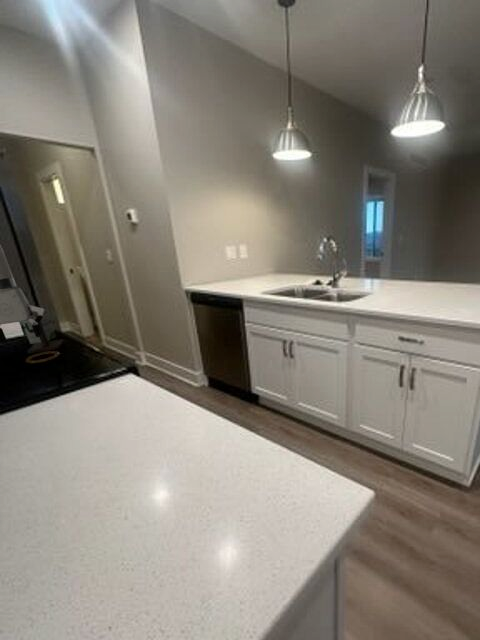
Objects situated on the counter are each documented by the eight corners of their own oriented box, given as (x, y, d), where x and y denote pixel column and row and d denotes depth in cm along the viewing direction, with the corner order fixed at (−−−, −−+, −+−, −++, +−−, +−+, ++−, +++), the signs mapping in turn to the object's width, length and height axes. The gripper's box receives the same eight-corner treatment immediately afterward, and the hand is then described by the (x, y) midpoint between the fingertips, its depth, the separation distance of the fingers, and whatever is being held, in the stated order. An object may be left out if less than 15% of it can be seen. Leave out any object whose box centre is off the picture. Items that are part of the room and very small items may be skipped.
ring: (22, 366, 109) (20, 363, 108) (31, 356, 117) (30, 353, 116) (56, 361, 112) (55, 357, 111) (63, 352, 120) (62, 348, 119)
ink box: (45, 337, 137) (35, 308, 133) (57, 336, 137) (47, 307, 133) (29, 344, 129) (17, 314, 125) (41, 344, 129) (30, 313, 125)
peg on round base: (28, 355, 119) (15, 323, 114) (36, 347, 127) (25, 316, 122) (58, 350, 122) (47, 319, 117) (64, 342, 129) (54, 313, 125)
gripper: (-42, 290, 97) (-17, 347, 104) (29, 283, 103) (49, 337, 109) (-30, 286, 104) (-7, 340, 111) (37, 279, 109) (55, 331, 116)
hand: (21, 338), depth 110 cm, fingers open, 9 cm apart
